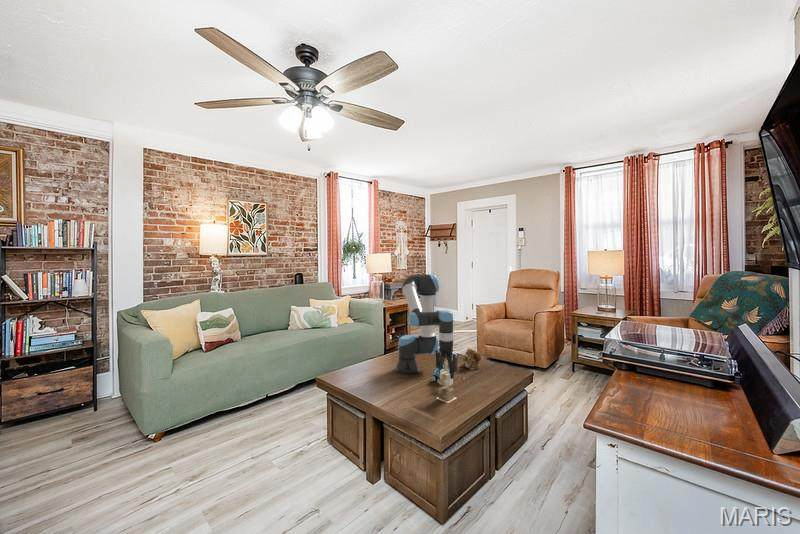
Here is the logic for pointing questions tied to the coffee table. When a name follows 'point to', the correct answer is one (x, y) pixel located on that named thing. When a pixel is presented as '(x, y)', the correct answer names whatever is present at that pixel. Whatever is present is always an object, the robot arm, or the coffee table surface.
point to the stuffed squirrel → (471, 359)
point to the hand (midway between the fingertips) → (446, 382)
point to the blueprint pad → (446, 401)
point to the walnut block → (446, 393)
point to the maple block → (444, 378)
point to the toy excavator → (436, 372)
